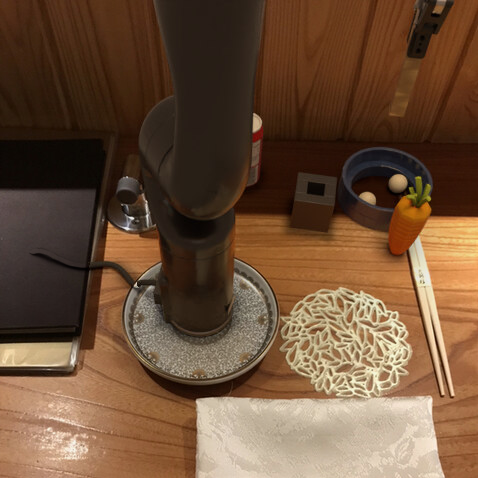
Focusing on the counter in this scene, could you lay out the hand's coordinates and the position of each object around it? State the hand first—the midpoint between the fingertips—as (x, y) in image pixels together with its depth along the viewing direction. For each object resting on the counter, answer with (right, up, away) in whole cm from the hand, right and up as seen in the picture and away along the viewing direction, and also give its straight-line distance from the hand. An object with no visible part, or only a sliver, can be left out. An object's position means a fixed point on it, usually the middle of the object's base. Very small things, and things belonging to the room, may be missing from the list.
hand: (415, 50), depth 70 cm
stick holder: (-10, -17, +21) cm, 29 cm away
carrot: (+2, -23, +18) cm, 30 cm away
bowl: (+1, -14, +24) cm, 28 cm away
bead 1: (-1, -14, +21) cm, 25 cm away
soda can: (-21, -10, +26) cm, 35 cm away
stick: (0, -5, +8) cm, 9 cm away
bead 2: (+4, -11, +23) cm, 26 cm away
